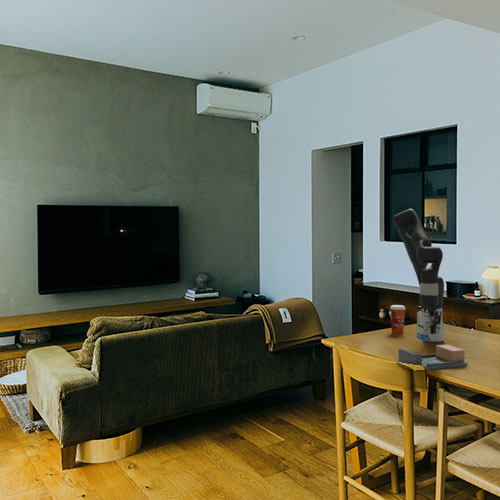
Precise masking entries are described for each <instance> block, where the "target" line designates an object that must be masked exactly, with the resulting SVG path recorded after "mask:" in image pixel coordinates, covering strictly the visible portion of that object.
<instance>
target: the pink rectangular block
mask: <svg viewBox="0 0 500 500" xmlns="http://www.w3.org/2000/svg"><path fill="white" fill-rule="evenodd" d="M465 353H466V352H465V349H462V348H461V347H460V348H459V347H456V346H453V345H451V344H437V345H435V354H436V356H437V357H440V358H442V359H445V360H448V361H459V360H464V361H465Z"/></svg>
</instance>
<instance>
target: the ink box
mask: <svg viewBox="0 0 500 500" xmlns="http://www.w3.org/2000/svg"><path fill="white" fill-rule="evenodd" d="M416 313H417V317H416V318H417V319H416V320H417V321H416V338H417V340H420V341H425V340H440V324H438V325H436V334H431V323H430V320H429V319H428V313H426V312H422V311H419V312H417V311H416ZM434 316H435V315H434ZM434 316H432V317H431V318H434ZM433 322H434V320H433ZM437 322H438V319H437ZM440 322H441V321H440Z"/></svg>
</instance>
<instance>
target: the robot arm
mask: <svg viewBox="0 0 500 500" xmlns="http://www.w3.org/2000/svg"><path fill="white" fill-rule="evenodd" d="M392 221H393V225H394V226H395V229H396V231H397V233H398V234H399V237H400V239H401V241H402V243H403V245H404V247H405V250H406V253H407V256H408V258H409V260H410V263H411V265H412V267H413V269H414V272H415V275H416V279H417V282H418V284H419V304H420V306H416V313H417V312H419V311H422V312H426V313H428V319H429V320H430V323H431V334H436V325H438V324H440V340H424V341H425V342H430V343H431V342H432V343H440V342H443V341H444V339H445V336H444V335H445V331H444V328H445V323H444V321H443V303H444V293H445V292H444V291H445V282H444V279H443V278H442V277H441V276H439V271H440V267H441V264H442V261H443V257H444V253H443V250H442V249H441V248H440V247H439V246H433V244H432V242H431V239H430V238H429V237H428V236H427V234H426V232H425V230H424V227H423V224H422V222H421V220H420V218H419V216H418V214H417V213H416V211H415V210H414V208H407V209H405V210H402V211H401V212H399V213H397V214H395V215H393V217H392ZM412 229H413V230H412ZM409 230H412V232H411V235H409V234H408V233H407V231H409ZM428 264H431V265H430V266H429V267H428ZM434 315H435V316H434ZM432 316H434V318H431V317H432ZM437 319H438V322H437ZM433 320H434V322H433ZM440 321H441V322H440Z"/></svg>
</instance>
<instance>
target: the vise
mask: <svg viewBox="0 0 500 500" xmlns="http://www.w3.org/2000/svg"><path fill="white" fill-rule="evenodd" d="M395 361H397V362H402V363H407V364H413V365H421V366H425V368H426V370H425V371H431V370H430V369H432V370H438V369H448V368H457V367H464V366H468V365H469V362H468V361H465V359H464V360H459V361H448V360H445V359H442V358H440V357H437V356H436V353H426V354H422V353H418V352H416V351H414V350H411V349H409V348H406V347H403V348H402V347H401V348H398V359H396V360H395Z"/></svg>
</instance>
